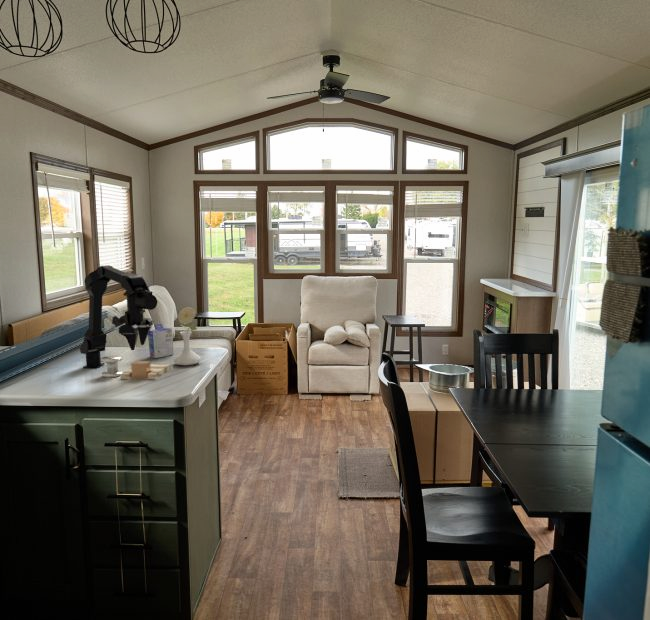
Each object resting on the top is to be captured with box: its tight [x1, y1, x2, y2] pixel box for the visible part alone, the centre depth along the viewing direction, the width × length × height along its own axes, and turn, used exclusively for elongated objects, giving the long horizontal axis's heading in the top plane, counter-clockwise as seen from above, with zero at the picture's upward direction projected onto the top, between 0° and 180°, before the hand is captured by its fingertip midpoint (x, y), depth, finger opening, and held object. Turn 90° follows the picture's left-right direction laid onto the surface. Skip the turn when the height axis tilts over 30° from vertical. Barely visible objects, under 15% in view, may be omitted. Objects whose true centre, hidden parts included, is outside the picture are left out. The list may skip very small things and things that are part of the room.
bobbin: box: [101, 355, 124, 379], centre depth 227 cm, size 8×8×7 cm
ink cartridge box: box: [147, 323, 175, 359], centre depth 259 cm, size 10×6×14 cm, turn 135°
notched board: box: [120, 363, 172, 380], centre depth 228 cm, size 16×14×2 cm
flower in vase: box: [173, 306, 202, 366], centre depth 241 cm, size 13×11×25 cm
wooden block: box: [130, 360, 151, 380], centre depth 223 cm, size 4×6×6 cm, turn 84°
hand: (137, 347), depth 222 cm, fingers open, 9 cm apart
